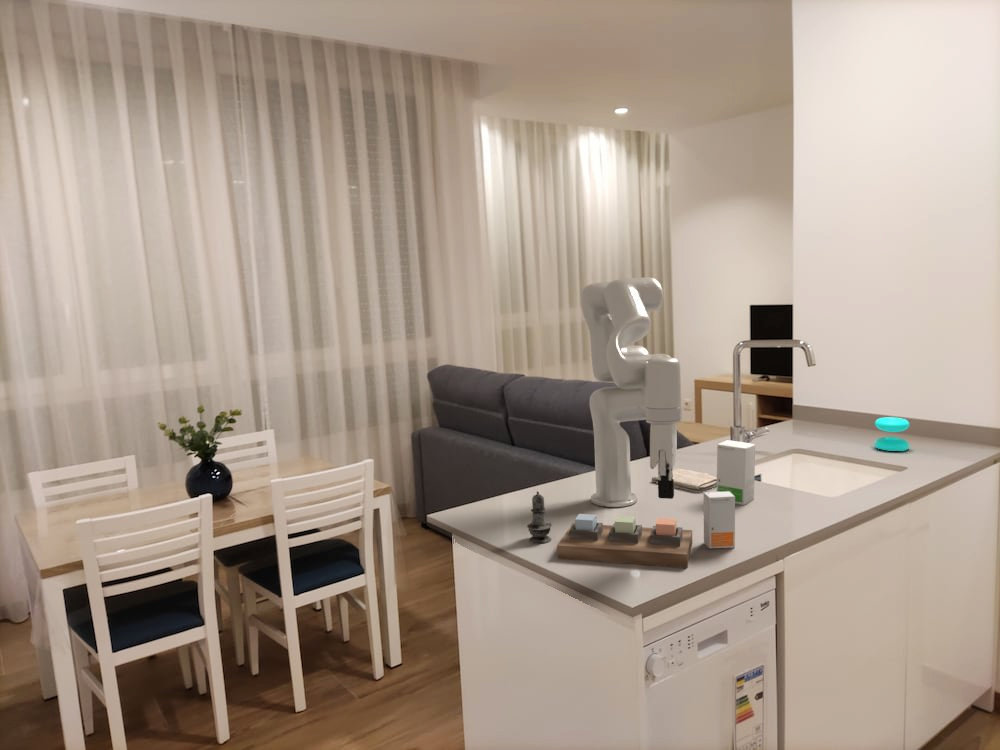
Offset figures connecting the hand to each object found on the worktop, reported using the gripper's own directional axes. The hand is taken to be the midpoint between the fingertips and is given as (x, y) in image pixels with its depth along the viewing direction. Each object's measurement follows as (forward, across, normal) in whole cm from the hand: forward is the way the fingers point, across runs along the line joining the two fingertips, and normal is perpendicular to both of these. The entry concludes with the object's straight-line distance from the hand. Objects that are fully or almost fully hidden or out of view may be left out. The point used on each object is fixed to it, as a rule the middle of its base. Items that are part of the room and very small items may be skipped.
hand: (666, 497), depth 160 cm
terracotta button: (+8, -1, 0) cm, 8 cm away
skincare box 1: (+13, -8, +11) cm, 19 cm away
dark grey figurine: (+13, -4, -30) cm, 33 cm away
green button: (+8, -1, -9) cm, 12 cm away
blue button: (+8, -1, -18) cm, 20 cm away
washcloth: (+13, -57, 0) cm, 58 cm away
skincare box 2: (+12, -43, +14) cm, 47 cm away
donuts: (+12, -107, +62) cm, 124 cm away
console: (+13, -1, -9) cm, 16 cm away
